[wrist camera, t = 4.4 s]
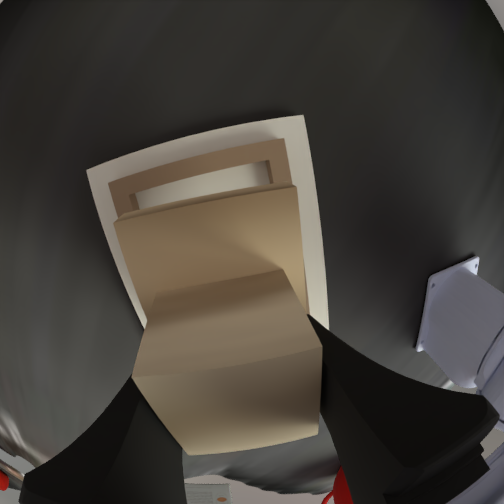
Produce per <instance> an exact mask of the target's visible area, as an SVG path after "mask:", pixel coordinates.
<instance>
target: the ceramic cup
mask: <svg viewBox="0 0 504 504" xmlns="http://www.w3.org/2000/svg"><path fill="white" fill-rule="evenodd" d="M331 496H333V497H334V503H335V504H353V501H352V498H351V494H350V491H349V488H348V485H347V481H346V478H345V475H344V472H343V469H342V466H340V469H339V471H338V473H337V476H336V478H335V481H334V485H333V490H332V491H331V492H330V493H329V494H328V495H327V496H326V497H325V498H324V500H323V501H322V503H321V504H327V502H328V500H329V499H330V498H331Z"/></svg>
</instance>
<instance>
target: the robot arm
mask: <svg viewBox="0 0 504 504" xmlns="http://www.w3.org/2000/svg"><path fill="white" fill-rule="evenodd" d="M478 264H479V257H477V256H474V257H472V258H470V259H468V260H466V261H463V262H461V263H459V264H457V265H454V266H452V267H450V268H447V269H445V270H443V271H440V272H438V273H435V274H433V275H431V276H430V277H429V279H428V285H427V293H426V299H425V305H424V311H423V316H422V322H421V327H420V331H419V336H418V340H417V345H416V351H417V352H420V351H422V350H425V351H426V352H427V353H428V355H429V356H430V357H431V358H432V359H433V360H434V361H435V363H436V364H437V365H438V366H439V367H440V368H441V369H442V371H443V372H444V373H445V374H446V375H447V376H448V378H449V379H450V380H451V381H452V382H453V383H455V384H456V385H458V386H461V387H464V388H474V387H478V389H477V391H476V394H468V393H462V392H456V391H451V390H447V389H443V388H438V387H435V386H431V385H428V384H425V383H422V382H419V381H416V380H414V379H411V378H408V377H405V376H403V375H401V374H398V373H396V372H394V371H392V370H390V369H388V368H386V367H384V366H382V365H380V364H378V363H376V362H374V361H373V360H371V359H369V358H367V357H366V356H364V355H363V354H361V353H359V352H358V351H356V350H355V349H353V348H352V347H350V346H349V345H348V344H346V343H345V342H343V341H342V340H341V339H339V338H338V337H337V336H335V335H334V334H333V333H331V332H330V331H329V330H328V329H326V328H325V327H324V326H323V325H322V324H320V323H319V322H318V321H317V320H316V319H315V318H313V317H312V316H311V315H309V314H307V317H308V319H309V321H310V323H311V325H312V327H313V329H314V331H315V333H316V334H317V336H318V338H319V340H320V342H321V344H322V376H321V397H320V413H321V415H322V417H323V419H324V421H325V423H326V425H327V428H328V430H329V432H330V434H331V437H332V440H333V443H334V446H335V448H336V451H337V454H338V457H339V460H340V463H341V466H342V469H343V472H344V475H345V478H346V481H347V485H348V488H349V491H350V494H351V498H352V501H353V504H504V442H503V443H502V444H501V445H500V446H499V447H498V448H497V449H496V450H495V451H494V452H493V453H492V454H491V455H490V456H489V457H487V458H486V459H485V460H484V459H483V457H482V456H481V453H482V452H483V451H484V449H483V447H482V446H481V444H480V442H481V441H482V440H483V439H484V438H485V437H486V436H487V435H488V433H489V432H490V431H491V430H492V429H493V428H496V429H498V430H501V431H503V432H504V294H503V293H502V292H501V291H499V290H498V289H496V288H495V287H493V286H492V285H490V284H489V283H487V282H486V281H485V280H483V279H482V278H480V277H478V276H477V270H478ZM19 503H20V504H187V499H186V492H185V485H184V476H183V466H182V447H181V445H180V444H179V443H178V442H177V441H176V439H175V438H174V437H173V436H172V434H171V433H170V432H169V430H168V429H167V428H166V427H165V425H164V424H163V423H162V421H161V420H160V419H159V417H158V416H157V414H156V413H155V412H154V410H153V409H152V407H151V406H150V405H149V403H148V402H147V400H146V399H145V397H144V396H143V394H142V393H141V391H140V390H139V388H138V387H137V385H136V384H135V382H134V380H133V379H132V374H131V376H130V377H129V378H128V380H127V381H126V383H125V384H124V386H123V387H122V388H121V390H120V391H119V392H118V394H117V395H116V396H115V398H114V399H113V400H112V402H111V403H110V404H109V405H108V407H107V408H106V409H105V410H104V412H103V413H102V414H101V415H100V416H99V417H98V418H97V420H96V421H95V422H94V423H93V424H92V425H91V426H90V427H89V428H88V429H87V430H86V431H85V432H84V433H83V434H82V435H81V436H79V437H78V438H77V439H76V440H75V441H74V442H73V443H72V444H71V445H69V446H68V447H67V448H66V449H64V450H63V451H62V452H60V453H59V454H58V455H56V456H55V457H53V458H52V459H51V460H49V461H47V462H46V463H44V464H42V465H41V466H39V467H37V468H35V469H34V470H32V471H30V472H28V473H26V474H25V476H24V480H23V484H22V488H21V493H20V497H19Z"/></svg>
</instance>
